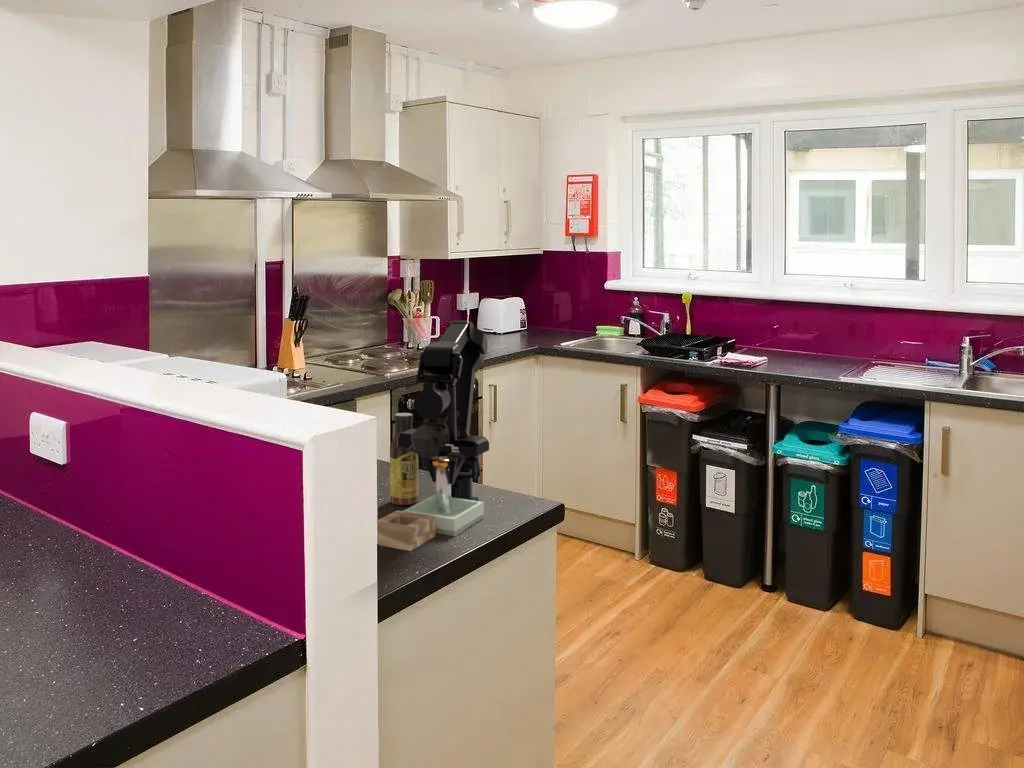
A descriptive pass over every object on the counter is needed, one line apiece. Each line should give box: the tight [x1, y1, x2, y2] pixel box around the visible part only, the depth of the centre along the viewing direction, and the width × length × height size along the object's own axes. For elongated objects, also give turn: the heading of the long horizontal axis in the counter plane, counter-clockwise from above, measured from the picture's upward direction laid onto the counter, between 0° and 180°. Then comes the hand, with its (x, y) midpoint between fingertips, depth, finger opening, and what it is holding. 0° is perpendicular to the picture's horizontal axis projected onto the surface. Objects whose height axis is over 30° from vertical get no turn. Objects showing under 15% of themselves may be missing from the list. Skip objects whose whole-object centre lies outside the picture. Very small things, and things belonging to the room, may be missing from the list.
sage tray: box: [403, 494, 485, 537], centre depth 182 cm, size 12×12×4 cm
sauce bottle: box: [389, 412, 419, 506], centre depth 195 cm, size 7×6×20 cm
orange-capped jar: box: [432, 456, 452, 513], centre depth 181 cm, size 4×4×11 cm
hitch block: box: [377, 510, 437, 552], centre depth 173 cm, size 9×9×4 cm
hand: (443, 482), depth 181 cm, fingers closed on orange-capped jar, 4 cm apart
